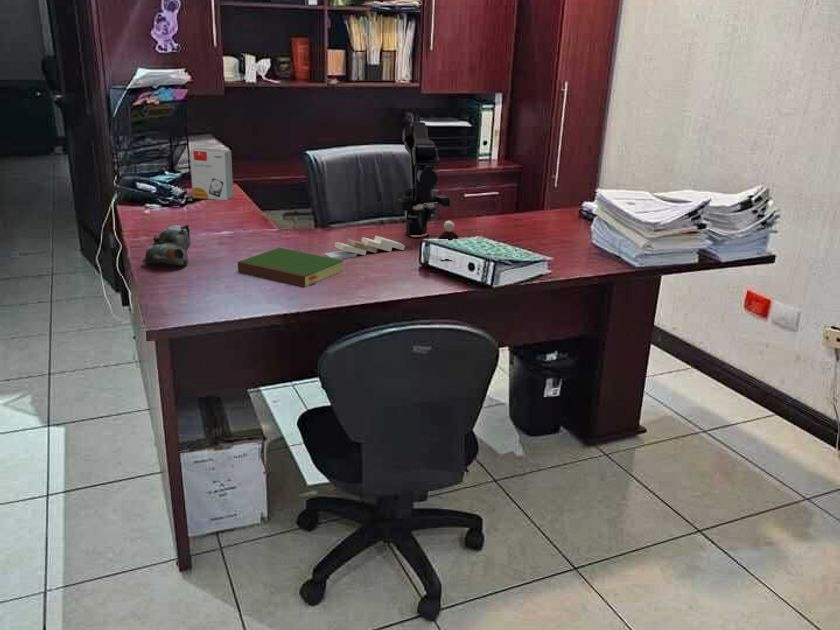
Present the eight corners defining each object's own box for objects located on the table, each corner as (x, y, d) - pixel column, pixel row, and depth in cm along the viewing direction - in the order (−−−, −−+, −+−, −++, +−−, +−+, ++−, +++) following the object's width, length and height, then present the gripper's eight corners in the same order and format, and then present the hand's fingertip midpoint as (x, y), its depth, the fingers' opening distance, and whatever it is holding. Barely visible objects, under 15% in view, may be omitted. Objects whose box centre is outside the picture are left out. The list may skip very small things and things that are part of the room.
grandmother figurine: (440, 262, 231) (441, 223, 227) (434, 259, 234) (435, 220, 230) (461, 259, 235) (463, 220, 230) (455, 256, 238) (457, 218, 233)
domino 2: (357, 247, 240) (335, 241, 234) (366, 250, 236) (344, 245, 230) (356, 251, 240) (334, 246, 234) (365, 255, 236) (342, 250, 230)
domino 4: (385, 243, 245) (362, 236, 240) (392, 247, 241) (368, 240, 236) (384, 248, 245) (360, 241, 241) (390, 251, 241) (367, 245, 236)
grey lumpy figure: (136, 262, 222) (147, 218, 223) (175, 273, 229) (185, 229, 231) (152, 260, 210) (163, 213, 211) (192, 271, 217) (203, 225, 219)
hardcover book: (238, 274, 216) (237, 261, 215) (279, 259, 232) (279, 247, 230) (306, 289, 205) (306, 276, 204) (345, 272, 220) (345, 260, 219)
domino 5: (398, 242, 247) (375, 235, 242) (405, 245, 243) (381, 239, 238) (396, 246, 247) (373, 240, 243) (403, 250, 243) (380, 243, 238)
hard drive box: (192, 198, 309) (188, 150, 301) (200, 194, 316) (196, 147, 309) (227, 200, 306) (224, 152, 299) (234, 197, 313) (231, 149, 306)
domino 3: (369, 244, 243) (347, 238, 237) (377, 248, 239) (355, 242, 233) (368, 249, 243) (346, 243, 237) (376, 253, 239) (353, 246, 233)
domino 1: (349, 249, 238) (324, 253, 234) (356, 253, 235) (331, 257, 230) (349, 254, 239) (324, 258, 234) (356, 258, 235) (331, 262, 231)
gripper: (435, 175, 253) (433, 220, 258) (387, 179, 244) (386, 225, 249) (452, 181, 244) (450, 227, 249) (403, 185, 235) (402, 233, 240)
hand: (422, 228), depth 247 cm, fingers closed
